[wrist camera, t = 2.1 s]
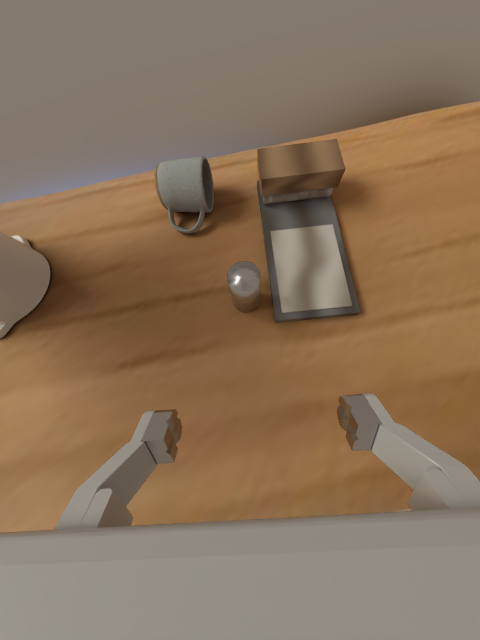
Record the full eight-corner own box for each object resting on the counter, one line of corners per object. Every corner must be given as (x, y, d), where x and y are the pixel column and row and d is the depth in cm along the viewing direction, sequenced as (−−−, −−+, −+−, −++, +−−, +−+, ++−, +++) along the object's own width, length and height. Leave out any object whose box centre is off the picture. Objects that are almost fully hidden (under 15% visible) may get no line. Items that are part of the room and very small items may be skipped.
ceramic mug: (172, 188, 40) (154, 146, 33) (215, 187, 40) (206, 144, 32) (165, 237, 38) (144, 203, 30) (211, 236, 37) (200, 201, 30)
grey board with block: (275, 322, 32) (280, 308, 26) (257, 186, 39) (257, 149, 33) (356, 314, 31) (382, 298, 25) (323, 178, 39) (336, 138, 32)
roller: (234, 313, 33) (228, 293, 25) (232, 289, 34) (226, 263, 26) (260, 311, 33) (262, 289, 25) (257, 287, 34) (258, 259, 26)
